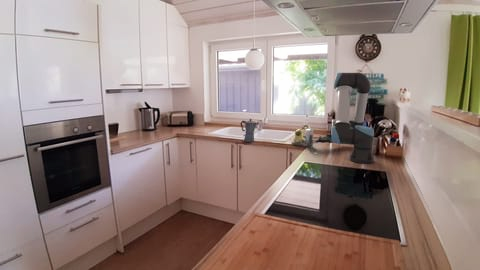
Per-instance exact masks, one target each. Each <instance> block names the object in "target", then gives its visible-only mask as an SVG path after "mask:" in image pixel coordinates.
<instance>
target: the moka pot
mask: <svg viewBox="0 0 480 270" xmlns="http://www.w3.org/2000/svg"><path fill="white" fill-rule="evenodd" d="M243 124H244V125H243ZM257 125H258V122H257V121H253V120H252V118H249V120H242V121H241V122H240V127H241V130H242V132H245V135H244V139H243V141H244V142H246V143H254V142H255V134H254V133H255V129H256V128H257ZM244 126H245V129H244Z"/></svg>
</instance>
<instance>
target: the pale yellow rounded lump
mask: <svg viewBox="0 0 480 270" xmlns="http://www.w3.org/2000/svg"><path fill="white" fill-rule="evenodd" d="M304 130H305V129H301V128H297V129H296V130H295V131H294V137H293V138H294V139H293V141H292V142H291V145H293V146H301V147H303V146H304V147H305V140H306V137H304Z"/></svg>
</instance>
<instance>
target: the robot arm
mask: <svg viewBox="0 0 480 270" xmlns="http://www.w3.org/2000/svg"><path fill="white" fill-rule="evenodd" d="M371 88H372V87H371V82H370V79H369V78H368V76H367V75H365V73H362V72H337V73H336V75H335V80H334V84H333V89H335V92H336V93H337V99H336V101H337V102H336V116H335V117H336V119H335V122H334V123H333V125H332V126H331V127H330V131H331V133H328V134H326V135H325V136H321V135H320V136H318V137H315V138H313V140H312V143H313V144H316V143H317V144H318V143H322V144H323V143H326V144H327V143H328V144H337V145H351V146H353V147H352V148H353V149H351V150H352V151H351V152H350V155H349V161H351V162H354V163H358V164H365V165H366V164H367V165H368V164H370V165H371V164H374V163H375V156H374V153H373V145H374V138H375V130H374V129H373V128H371V127H369V126H367V121H365V116H366V109H367V103H368V99H369V96H368V95H369V94H370V93H371ZM353 90H355V92H356V97H355V99H356V100H355V106H354V114H353V120H350V111H351V110H350V109H351V93H353Z"/></svg>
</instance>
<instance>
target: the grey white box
mask: <svg viewBox="0 0 480 270" xmlns="http://www.w3.org/2000/svg"><path fill="white" fill-rule="evenodd" d="M314 132H315V129H314V128H306V129H305V145H304V147H306V148H308V150H312V148H313V147H314V143H312V140H313V139H314V136H315V135H314Z"/></svg>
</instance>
